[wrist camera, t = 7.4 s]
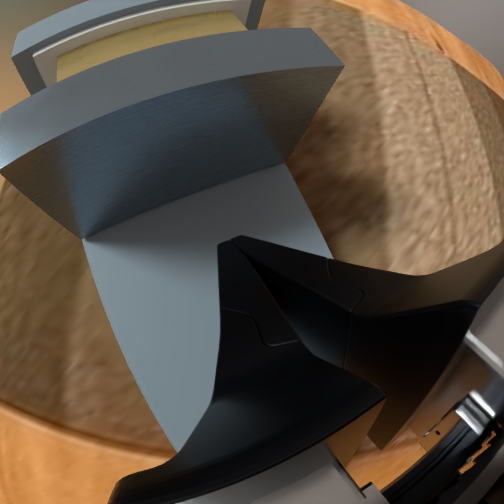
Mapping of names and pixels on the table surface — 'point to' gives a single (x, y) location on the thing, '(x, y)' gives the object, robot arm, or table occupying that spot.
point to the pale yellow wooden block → (145, 39)
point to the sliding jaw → (164, 123)
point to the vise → (170, 229)
